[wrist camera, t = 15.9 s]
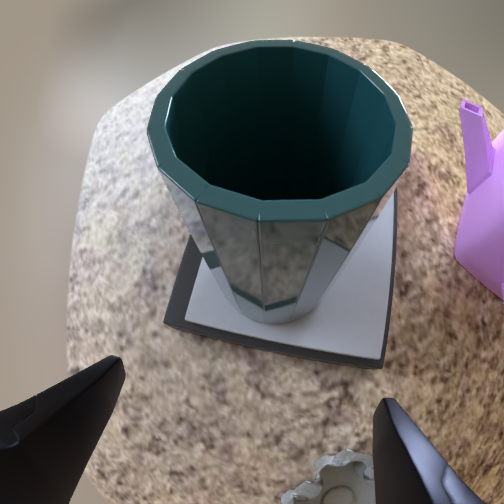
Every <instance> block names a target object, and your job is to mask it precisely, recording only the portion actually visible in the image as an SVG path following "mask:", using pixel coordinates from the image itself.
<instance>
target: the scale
mask: <svg viewBox="0 0 504 504" xmlns="http://www.w3.org/2000/svg"><path fill="white" fill-rule="evenodd" d="M396 236H397V187H396V189H395V190H394V192H393V194H392V195H391V197H390V199H389V200H388V202H387V203H386V205H385V207H384V208H383V210H382V212H381V213H380V215H379V216H378V218H377V220H376V221H375V223H374V224H373V226H372V228H371V229H370V231H369V232H368V234H367V235H366V237H365V238H364V240H363V242H362V243H361V245H360V246H359V248H358V249H357V251H356V252H355V254H354V255H353V257H352V258H351V260H350V261H349V263H348V264H347V266H346V267H345V269H344V270H343V271H342V273H341V274H340V276H339V277H338V279H337V280H336V282H335V283H334V284H333V286H332V287H331V289H330V290H329V292H328V293H327V294H326V296H325V297H324V298H323V299H322V300H321V301H320V303H319V304H318V305H317V307H315V308H314V309H313V310H312V311H311V312H310V313H309V314H307V315H306V316H304V317H302V318H301V319H299V320H296V321H294V322H291V323H286V324H279V325H269V324H263V323H259V322H256V321H253V320H251V319H249V318H247V317H245V316H243V315H242V314H240V313H239V312H238V311H237V310H236V309H235V308H234V307H233V306H232V305H231V304H230V303H229V301H228V300H227V299H226V298H225V297H224V295H223V293H222V291H221V289H220V287H219V286H218V284H217V282H216V280H215V278H214V277H213V275H212V273H211V271H210V269H209V267H208V265H207V264H206V262H205V260H204V258H203V256H202V254H201V252H200V250H199V249H198V247H197V245H196V243H195V241H194V239H193V237H192V235H191V234H190V237H189V240H188V243H187V246H186V249H185V252H184V255H183V258H182V261H181V265H180V268H179V271H178V274H177V277H176V281H175V284H174V287H173V290H172V294H171V297H170V301H169V304H168V307H167V311H166V314H165V318H164V321H163V323H164V324H166V325H168V326H170V327H172V328H175V329H179V330H183V331H186V332H190V333H194V334H197V335H201V336H205V337H209V338H213V339H217V340H221V341H225V342H229V343H233V344H237V345H242V346H246V347H250V348H255V349H259V350H264V351H269V352H273V353H278V354H283V355H288V356H293V357H299V358H304V359H309V360H315V361H320V362H326V363H332V364H338V365H345V366H351V367H358V368H365V369H382V368H383V363H384V357H385V351H386V345H387V338H388V331H389V323H390V315H391V306H392V296H393V285H394V273H395V258H396Z"/></svg>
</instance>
